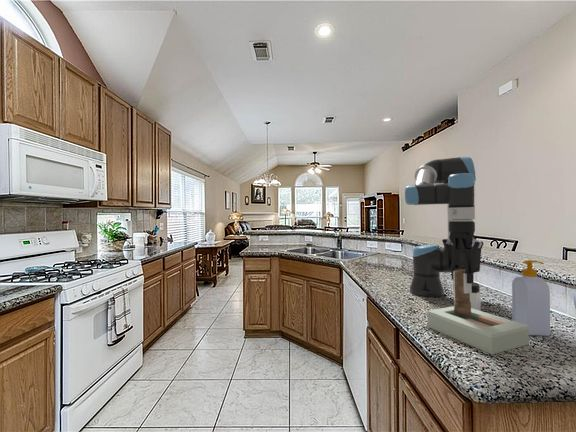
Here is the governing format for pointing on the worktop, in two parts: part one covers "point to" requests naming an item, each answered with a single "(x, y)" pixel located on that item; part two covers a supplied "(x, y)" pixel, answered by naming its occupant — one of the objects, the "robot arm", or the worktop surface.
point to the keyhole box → (479, 329)
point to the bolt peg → (461, 295)
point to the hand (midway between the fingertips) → (462, 291)
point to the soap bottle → (531, 301)
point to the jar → (475, 297)
